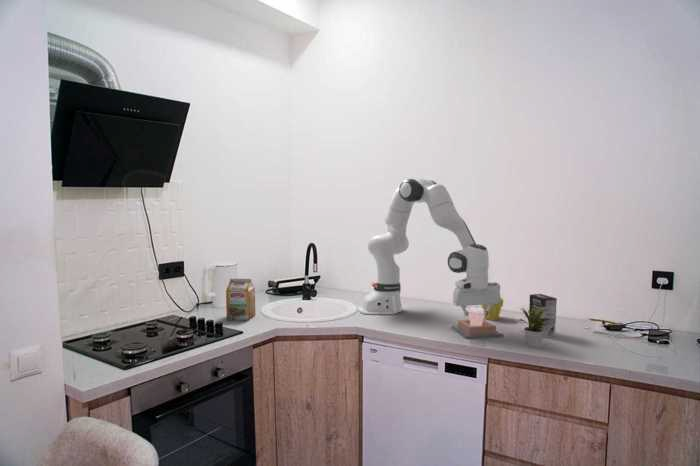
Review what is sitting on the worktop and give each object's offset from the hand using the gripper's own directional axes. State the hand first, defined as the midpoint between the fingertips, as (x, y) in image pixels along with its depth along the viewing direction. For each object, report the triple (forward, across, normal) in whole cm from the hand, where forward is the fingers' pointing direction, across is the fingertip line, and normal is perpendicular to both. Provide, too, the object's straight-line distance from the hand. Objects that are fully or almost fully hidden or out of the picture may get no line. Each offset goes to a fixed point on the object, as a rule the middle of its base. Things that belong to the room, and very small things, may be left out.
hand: (476, 315), depth 194 cm
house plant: (+8, -13, +20) cm, 25 cm away
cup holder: (+7, 0, 0) cm, 7 cm away
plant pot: (+8, -17, -20) cm, 27 cm away
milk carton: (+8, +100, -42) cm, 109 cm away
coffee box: (+8, -26, +7) cm, 28 cm away
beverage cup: (+7, 0, 0) cm, 7 cm away
